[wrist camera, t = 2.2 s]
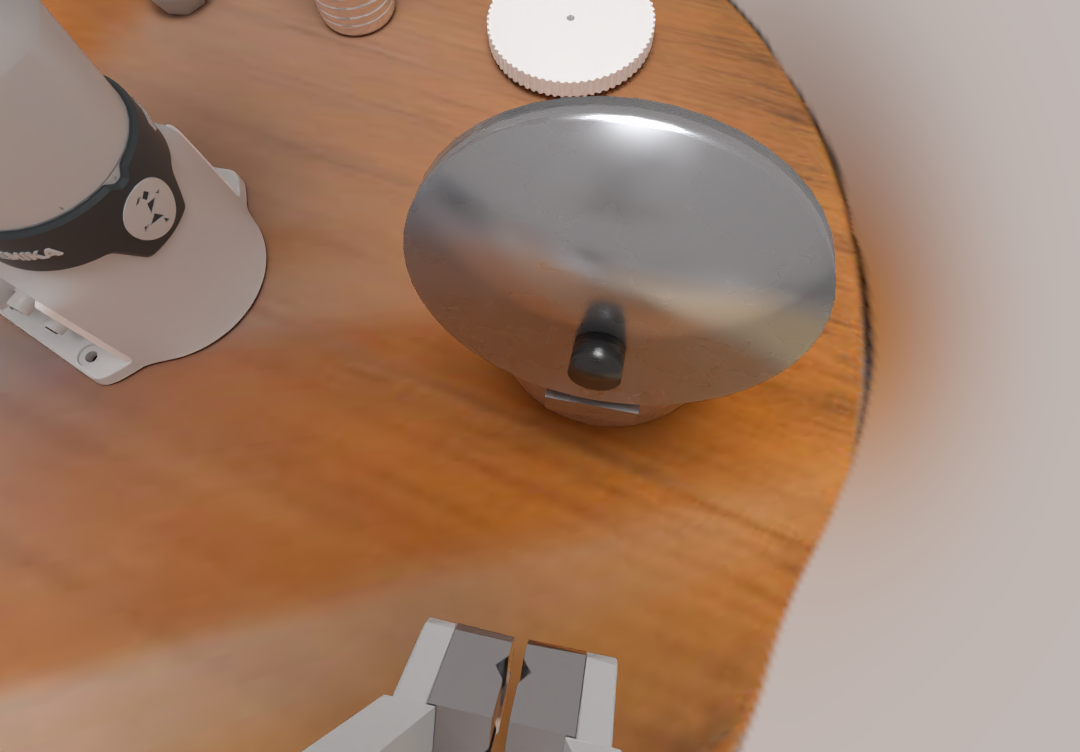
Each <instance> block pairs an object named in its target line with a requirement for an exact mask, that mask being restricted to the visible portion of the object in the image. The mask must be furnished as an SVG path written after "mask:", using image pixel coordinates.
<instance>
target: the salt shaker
mask: <svg viewBox="0 0 1080 752" xmlns="http://www.w3.org/2000/svg"><path fill="white" fill-rule="evenodd" d="M151 1H153V2H154V3H155V4H157V5H158V6H159V7H161V8H162V9H163V10H165V11H166V12H167V13H169V14H180V15H189V14H191V13H192V12H193V11H195V10H196V9H198V8H199V7H201V6H202V5H204V4H205V0H151Z"/></svg>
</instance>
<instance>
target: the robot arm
mask: <svg viewBox="0 0 1080 752" xmlns="http://www.w3.org/2000/svg"><path fill="white" fill-rule="evenodd" d="M152 121H153V120H152V119H151V117H150V116H149V114H148V113H147V112H146V111H145V110H144V108H143V107H142V106H141V105H140V104H139V103H138V102H137V101H136V100H135V99H134V98H133V97H131V96H130V95H129V94H128V93H127V92H126V91H125V90H124V89H123V88H122V87H121V86H120V85H119V84H118V83H116V82H115V81H113V80H112V79H110V78H108V77H106V76H104V75H102V74H101V73H100V71H99V70H98V69H97V68H96V67H95V65H94V64H93V63H92V62H91V61H90V59H89V58H88V57H87V56H86V55H85V53H84V52H83V51H82V50H81V49H80V47H79V46H78V45H77V44H76V43H75V41H74V40H73V39H72V38H71V37H70V35H69V34H68V33H67V32H66V31H65V29H64V28H63V27H62V26H61V25H60V23H59V22H58V21H57V20H56V19H55V18H54V16H53V15H52V14H51V13H50V12H49V10H48V9H47V8H46V7H45V6H44V4H43V3H42V2H41V1H40V0H0V314H1V315H3V316H4V317H5V318H7V319H8V320H10V321H11V322H12V323H14V324H15V325H17V326H18V327H19V328H21V329H22V330H24V331H25V332H26V333H28V334H29V335H31V336H32V337H33V338H35V339H36V340H38V341H39V342H40V343H42V344H43V345H45V346H46V347H47V348H49V349H50V350H52V351H53V352H54V353H56V354H57V355H59V356H60V357H61V358H63V359H64V360H66V361H67V362H68V363H70V364H71V365H73V366H74V367H75V368H77V369H78V370H80V371H81V372H82V373H84V374H85V375H87V376H88V377H89V378H91V379H92V380H94V381H95V382H97V383H99V384H102V385H109V384H113V383H115V382H118V381H120V380H122V379H124V378H125V377H127V376H129V375H131V374H132V373H134V372H136V371H137V370H139V369H141V368H142V367H144V366H146V365H149V364H153V363H156V362H161V361H166V360H171V359H175V358H179V357H182V356H185V355H188V354H191V353H193V352H196V351H198V350H200V349H202V348H204V347H206V346H208V345H209V344H211V343H213V342H214V341H216V340H217V339H219V338H220V337H222V336H223V335H224V334H225V333H227V332H228V331H229V330H230V329H231V328H232V327H233V326H235V325H236V324H237V322H238V321H239V320H240V319H241V318H242V317H243V316H244V315H245V313H246V312H247V311H248V309H249V308H250V306H251V305H252V303H253V302H254V300H255V298H256V296H257V294H258V292H259V290H260V287H261V285H262V282H263V278H264V274H265V269H266V247H265V243H264V239H263V236H262V233H261V231H260V229H259V227H258V225H257V224H256V222H255V221H254V219H253V218H252V216H251V214H250V213H249V211H248V208H247V195H246V187H245V183H244V181H243V180H242V179H241V178H240V177H239V175H238V174H237V173H236V172H234V171H233V170H230V169H224V168H217V167H213V166H212V165H211V164H210V163H209V162H208V161H207V160H206V158H205V157H204V156H203V155H202V154H201V153H200V152H199V151H198V150H197V149H196V148H195V147H194V146H193V144H192V143H191V142H190V141H189V140H188V139H187V138H186V137H185V136H184V135H183V134H182V133H181V132H180V131H179V130H178V129H177V128H175V127H174V126H172V125H170V124H167V125H162V124H159V123H154V122H152ZM95 356H97V358H96V360H95V361H93V362H92V360H93V358H94V357H95ZM514 642H515V638H514V637H512V636H507V635H503V634H499V633H495V632H491V631H487V630H483V629H479V628H475V627H471V626H467V625H463V624H457V623H453V622H449V621H445V620H441V619H436V618H432V617H430V618H429V619H428V620H427V621H426V622H425V624H424V626H423V628H422V630H421V633H420V635H419V637H418V639H417V642H416V644H415V646H414V648H413V651H412V653H411V655H410V657H409V660H408V662H407V664H406V667H405V669H404V671H403V673H402V676H401V678H400V680H399V682H398V685H397V687H396V689H395V691H394V694H393V696H390V695H385V694H384V695H382V696H381V697H379V698H378V699H376V700H375V701H374V702H372V703H371V704H369V705H368V706H366V707H365V708H364V709H362V710H361V711H359V712H358V713H356V714H355V715H353V716H352V717H351V718H349V719H348V720H346V721H345V722H343V723H342V724H341V725H339V726H338V727H336V728H335V729H333V730H332V731H330V732H329V733H328V734H326V735H325V736H323V737H322V738H320V739H319V740H318V741H316V742H315V743H313V744H312V745H310V746H309V747H307V748H306V749H305V750H303V751H302V752H493V750H494V743H495V736H496V734H497V733H498V732H499V729H500V725H501V721H502V717H503V712H504V707H505V703H506V698H507V692H508V687H509V680H510V674H511V672H510V671H509V668H510V664H511V660H512V656H513V651H514ZM617 667H618V663H617V660H616V658H614V657H609V656H604V655H599V654H595V653H590V652H587V653H586V651H581V650H576V649H572V648H567V647H562V646H557V645H552V644H548V643H543V642H538V641H533V640H529V641H528V644H527V648H526V652H525V656H524V660H523V667H522V673H521V679H520V682H519V683H518V685H517V690H516V694H515V698H514V703H513V707H512V711H511V716H510V720H509V726H508V732H507V739H506V746H505V752H622V751H621V750H620V749H616V748H612V738H613V724H614V710H615V696H616V681H617Z"/></svg>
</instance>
